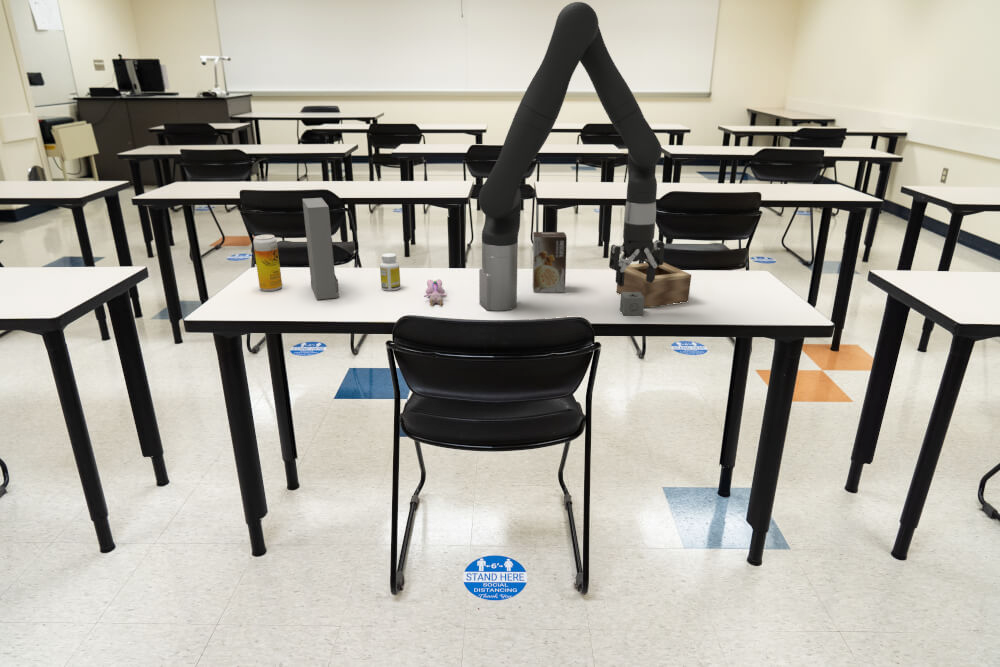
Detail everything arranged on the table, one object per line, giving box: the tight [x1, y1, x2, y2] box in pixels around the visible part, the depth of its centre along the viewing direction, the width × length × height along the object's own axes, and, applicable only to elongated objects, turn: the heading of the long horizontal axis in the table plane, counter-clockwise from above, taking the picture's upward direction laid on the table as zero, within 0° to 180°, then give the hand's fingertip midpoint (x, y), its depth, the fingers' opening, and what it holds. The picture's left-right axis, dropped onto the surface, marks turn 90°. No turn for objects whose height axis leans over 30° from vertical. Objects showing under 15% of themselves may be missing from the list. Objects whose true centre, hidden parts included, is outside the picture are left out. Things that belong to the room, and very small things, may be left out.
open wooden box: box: [616, 262, 692, 308], centre depth 177 cm, size 14×14×8 cm
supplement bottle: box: [379, 252, 401, 292], centre depth 182 cm, size 5×5×10 cm
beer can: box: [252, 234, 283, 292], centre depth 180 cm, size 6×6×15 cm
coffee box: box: [532, 231, 568, 294], centre depth 181 cm, size 9×6×16 cm
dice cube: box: [619, 292, 645, 317], centre depth 166 cm, size 5×5×5 cm
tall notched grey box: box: [302, 197, 340, 301], centre depth 176 cm, size 14×6×25 cm, turn 22°
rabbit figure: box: [423, 279, 448, 308], centre depth 176 cm, size 6×6×15 cm
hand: (635, 283), depth 163 cm, fingers open, 8 cm apart
